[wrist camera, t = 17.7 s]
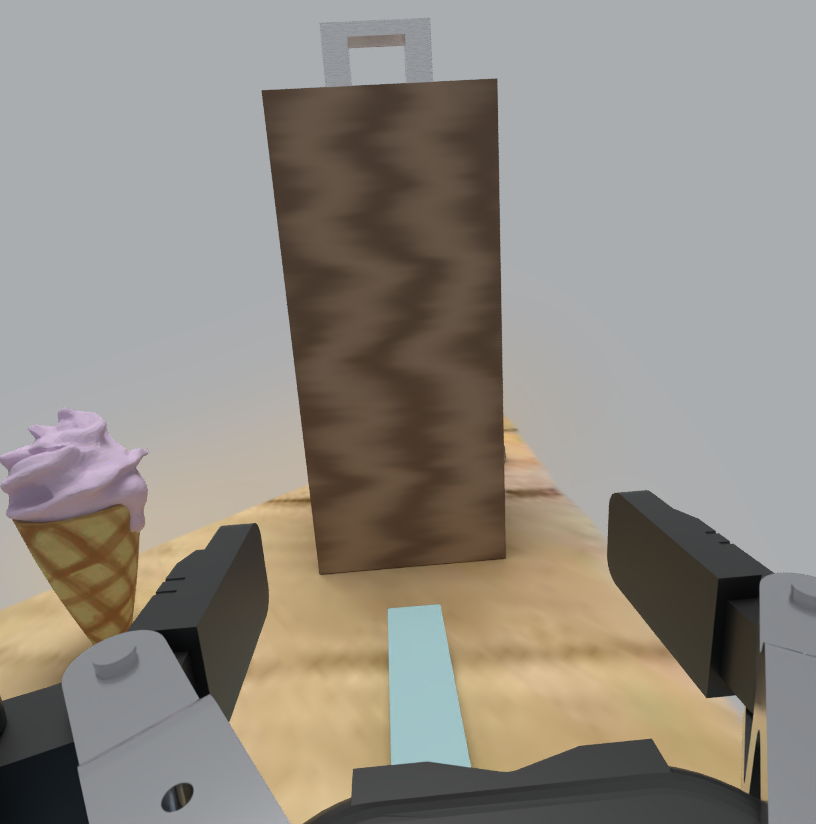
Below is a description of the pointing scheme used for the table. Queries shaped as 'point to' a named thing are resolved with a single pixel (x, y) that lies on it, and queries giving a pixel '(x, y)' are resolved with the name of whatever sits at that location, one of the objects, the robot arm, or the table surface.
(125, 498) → the ice cream cone
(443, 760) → the peg
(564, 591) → the table surface
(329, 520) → the plinth
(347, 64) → the arch
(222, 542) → the robot arm
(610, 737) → the table surface
